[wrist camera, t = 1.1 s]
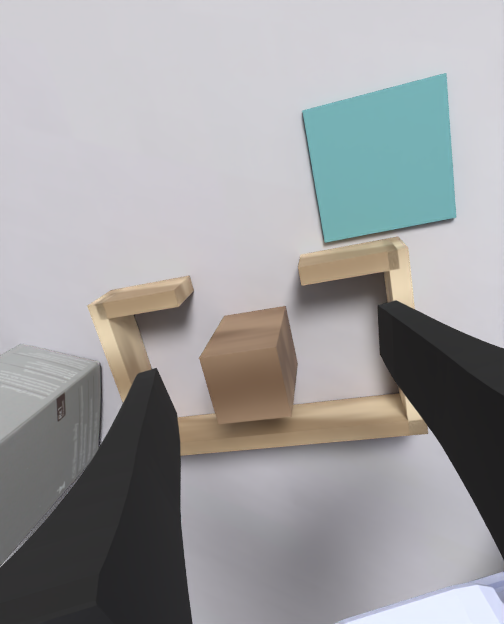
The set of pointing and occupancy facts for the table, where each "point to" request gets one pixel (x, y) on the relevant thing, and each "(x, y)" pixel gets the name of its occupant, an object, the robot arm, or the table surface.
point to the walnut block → (251, 366)
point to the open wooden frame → (305, 417)
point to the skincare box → (43, 433)
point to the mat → (383, 159)
